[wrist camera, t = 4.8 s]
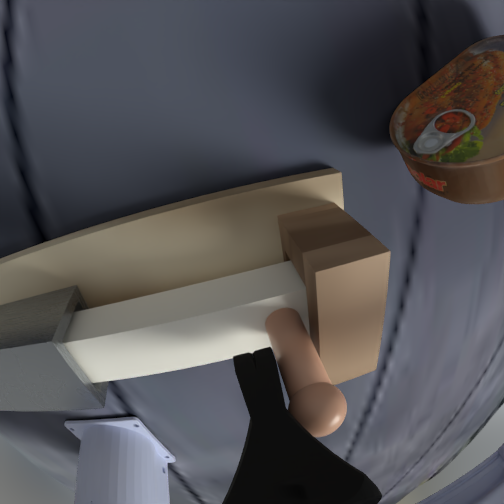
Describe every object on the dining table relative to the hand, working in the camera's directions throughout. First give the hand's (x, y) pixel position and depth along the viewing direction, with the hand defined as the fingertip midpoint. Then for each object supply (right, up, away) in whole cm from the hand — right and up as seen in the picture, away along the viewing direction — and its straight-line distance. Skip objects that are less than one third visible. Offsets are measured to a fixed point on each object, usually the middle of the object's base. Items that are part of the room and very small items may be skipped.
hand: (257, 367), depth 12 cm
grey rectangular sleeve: (-14, 0, +5) cm, 15 cm away
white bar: (-4, +1, +4) cm, 6 cm away
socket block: (+3, +4, +6) cm, 8 cm away
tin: (+12, +14, +3) cm, 19 cm away
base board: (-8, +1, +5) cm, 10 cm away
